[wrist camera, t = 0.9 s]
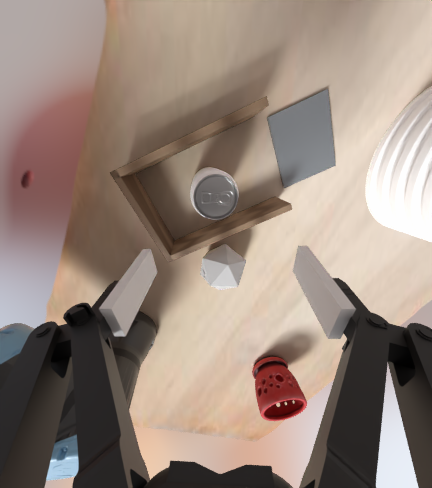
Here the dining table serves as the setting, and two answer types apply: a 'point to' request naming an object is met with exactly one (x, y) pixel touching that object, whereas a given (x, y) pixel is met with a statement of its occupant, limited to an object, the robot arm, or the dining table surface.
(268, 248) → the dining table surface
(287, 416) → the plant pot
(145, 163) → the walnut u-shaped enclosure
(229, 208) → the can
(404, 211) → the plate stack
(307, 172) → the slate mat
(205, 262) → the die
